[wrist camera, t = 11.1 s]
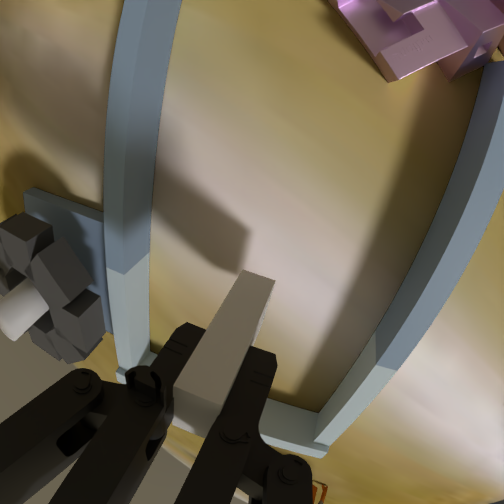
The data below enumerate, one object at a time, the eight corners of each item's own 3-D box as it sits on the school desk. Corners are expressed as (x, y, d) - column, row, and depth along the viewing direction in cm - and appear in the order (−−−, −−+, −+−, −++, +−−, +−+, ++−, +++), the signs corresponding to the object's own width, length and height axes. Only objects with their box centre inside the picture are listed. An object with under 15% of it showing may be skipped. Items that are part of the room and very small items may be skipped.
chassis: (43, 9, 11) (-58, 14, 5) (507, 77, 8) (627, 86, 2) (54, 308, 24) (0, 360, 18) (327, 424, 21) (308, 514, 14)
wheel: (-3, 199, 15) (-25, 212, 14) (95, 244, 14) (68, 264, 12) (23, 308, 20) (7, 322, 19) (112, 364, 19) (96, 384, 17)
